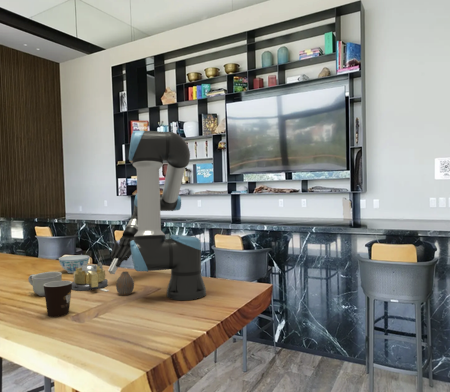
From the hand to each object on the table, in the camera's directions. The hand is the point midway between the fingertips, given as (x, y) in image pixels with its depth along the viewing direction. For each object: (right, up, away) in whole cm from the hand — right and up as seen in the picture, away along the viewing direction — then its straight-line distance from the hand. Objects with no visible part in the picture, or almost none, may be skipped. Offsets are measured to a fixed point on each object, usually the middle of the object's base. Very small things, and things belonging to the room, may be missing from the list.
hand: (111, 272), depth 155 cm
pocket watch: (-13, -7, +16) cm, 22 cm away
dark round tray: (-9, -6, 0) cm, 11 cm away
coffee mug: (-5, -6, -36) cm, 37 cm away
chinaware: (-30, -7, +32) cm, 44 cm away
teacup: (-23, -6, -11) cm, 27 cm away
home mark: (0, -6, -8) cm, 10 cm away
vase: (+10, -6, -13) cm, 18 cm away
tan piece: (-7, -3, -4) cm, 9 cm away
